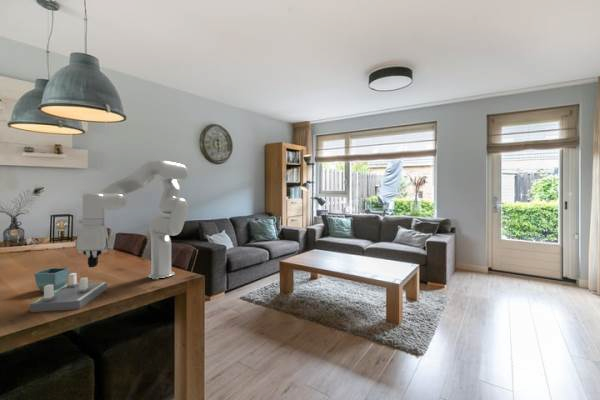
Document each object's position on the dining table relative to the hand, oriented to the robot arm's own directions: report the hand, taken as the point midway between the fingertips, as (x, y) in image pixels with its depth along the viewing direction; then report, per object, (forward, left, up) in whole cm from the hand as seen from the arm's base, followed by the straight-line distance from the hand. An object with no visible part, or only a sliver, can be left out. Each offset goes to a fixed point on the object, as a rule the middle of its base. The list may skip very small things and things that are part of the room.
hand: (92, 266), depth 118 cm
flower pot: (-15, -23, -14) cm, 30 cm away
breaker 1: (+7, -12, -10) cm, 17 cm away
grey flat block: (-1, -8, -13) cm, 15 cm away
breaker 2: (-9, -12, -10) cm, 18 cm away
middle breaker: (-1, -4, -10) cm, 11 cm away
